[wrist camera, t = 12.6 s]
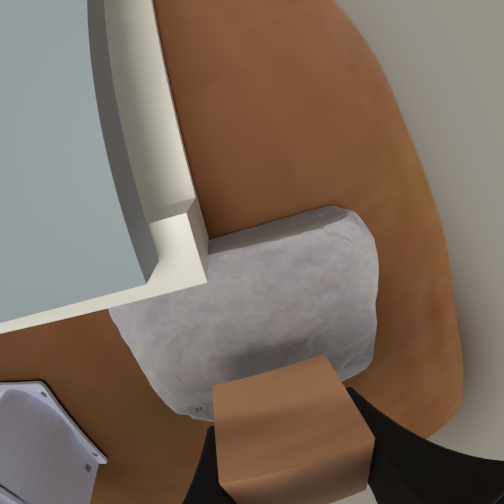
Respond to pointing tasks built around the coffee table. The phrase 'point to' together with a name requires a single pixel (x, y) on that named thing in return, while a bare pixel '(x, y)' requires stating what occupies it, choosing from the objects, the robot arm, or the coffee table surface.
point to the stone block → (261, 309)
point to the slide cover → (63, 163)
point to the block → (291, 437)
